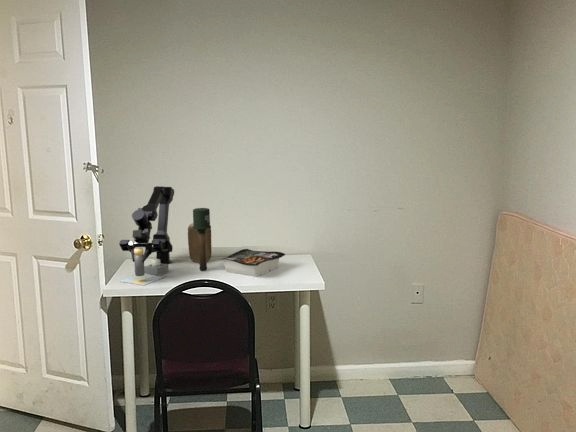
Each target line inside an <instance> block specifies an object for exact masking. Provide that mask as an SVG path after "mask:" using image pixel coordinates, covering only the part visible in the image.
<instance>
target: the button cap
mask: <svg viewBox="0 0 576 432" xmlns="http://www.w3.org/2000/svg"><path fill="white" fill-rule="evenodd" d="M151 264H152V267H159V266H160V259H156V258H152V259H151Z"/></svg>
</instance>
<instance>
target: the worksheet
mask: <svg viewBox="0 0 576 432" xmlns="http://www.w3.org/2000/svg"><path fill="white" fill-rule="evenodd" d="M162 279H163V277H161V276H156V275H150V274H145V275H143V276H135V275H133V276H130V277H127V278H124V279H122V280H119V282H120V283H126V284H131V285H136V286H137V285H139V286H144V287H145V286H146V285H149V284H151V283H155V282H156V281H159V280H162Z"/></svg>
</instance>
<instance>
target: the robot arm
mask: <svg viewBox="0 0 576 432" xmlns="http://www.w3.org/2000/svg"><path fill="white" fill-rule="evenodd" d="M151 193H152V194H151V196H150V198H149V200H148V202H147V204H146V205H144V206H143V207H138V208H137V210H134V211H133V212H132V213H131V218H132V219H133V221H134V224H135V225H136V226H138V228H137V229H134V230H132V238H133V241H134V242H133V241H130V239H121V240H119V243H118V244H119V247H120V248H121V250H122V251H123V252H129V253H130V254H131V260H132V262H133V263H134V249H135V248H144V251H143V254H144V256H143V262H144V263H145V261H147V259H148V258H149V256H151V255H152V254H153V253H156V256H155V259H160V263H162V264H168V265H169V264H172V263H173V261H172V260H170V259H171V258H170V253H172V252H173V248H174V247H173V245H172V243H171V240H170V239H171V237H169V234H168V222H169V210H170V209H169V207H170V204H171V203H172V202H173V200H174V197H175V189H174V188H173V187H172V186H160V185H159V186H157V185H156V186H154V187H153V191H152V192H151ZM158 207H159V209H158ZM157 210H158V211H157ZM156 220H157V231H156V233H153V235H152V240H151V242H150V241H149V240H150V239H151V230H152V229H153V226H152V222H155V221H156Z"/></svg>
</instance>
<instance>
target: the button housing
mask: <svg viewBox="0 0 576 432" xmlns="http://www.w3.org/2000/svg"><path fill="white" fill-rule="evenodd" d="M144 271H145V275H150V276H156V277H159V276H160V275H163V274H165V273H166V274H167V273H168V272H169V264H162V263H160V266H159V267H152V263H150V264H147V265H144Z"/></svg>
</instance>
